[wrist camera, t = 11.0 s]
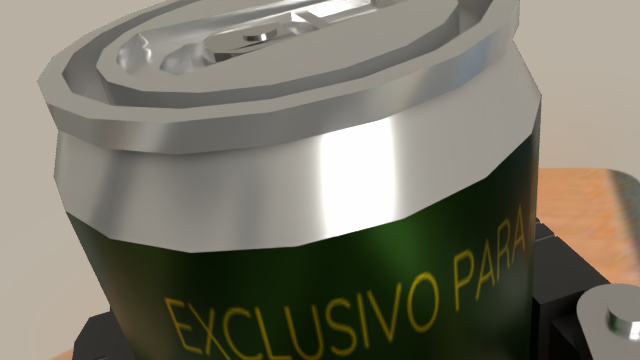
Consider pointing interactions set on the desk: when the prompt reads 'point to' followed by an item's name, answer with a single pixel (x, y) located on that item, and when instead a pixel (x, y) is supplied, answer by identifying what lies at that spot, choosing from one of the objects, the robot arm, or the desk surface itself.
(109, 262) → the beer can
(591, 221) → the desk surface
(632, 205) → the desk surface
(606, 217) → the desk surface
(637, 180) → the desk surface
